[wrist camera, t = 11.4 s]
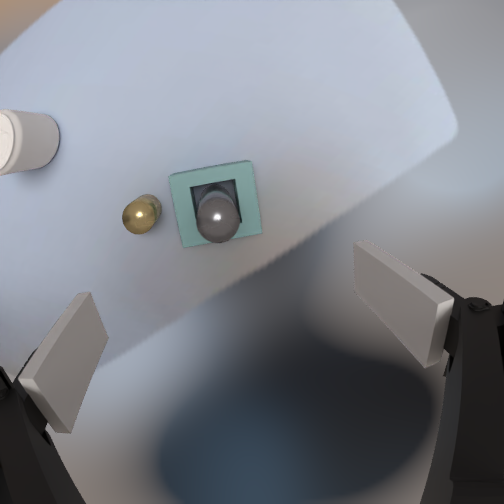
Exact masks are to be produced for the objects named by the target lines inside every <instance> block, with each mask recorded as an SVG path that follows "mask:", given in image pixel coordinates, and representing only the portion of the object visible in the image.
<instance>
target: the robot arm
mask: <svg viewBox="0 0 504 504" xmlns="http://www.w3.org/2000/svg"><path fill="white" fill-rule="evenodd" d="M353 244H354V292H355V293H356V294H357V295H358V296H359V297H360V298H361V299H362V301H363V302H364V303H365V304H366V305H367V306H368V307H369V308H370V309H371V310H372V311H373V312H374V313H375V314H376V315H377V316H378V317H379V318H380V319H381V321H382V322H383V323H384V324H385V325H386V326H387V327H388V328H389V329H390V330H391V331H392V332H393V334H394V335H395V336H396V337H397V338H398V339H399V340H400V341H401V342H402V343H403V344H404V345H405V347H407V349H408V350H409V351H410V352H411V353H412V354H413V355H414V357H415V358H416V359H417V360H418V361H419V362H420V363H421V364H422V365H423V367H424V368H427V367H429V366H432V365H434V364H436V363H438V362H440V361H441V357H442V353H443V350H444V349H445V350H446V351H447V352H448V353H449V358H448V361H447V365H446V368H445V372H444V375H443V376H445V377H446V383H445V392H444V400H443V407H442V413H441V420H440V426H439V431H438V436H437V441H436V446H435V450H434V455H433V459H432V463H431V468H430V471H429V475H428V479H427V482H426V486H425V489H424V492H423V495H422V499H421V502H420V504H504V302H503V304H502V305H496V306H492V305H491V304H490V303H489V302H488V301H487V300H484V299H482V298H477V297H470V298H467V299H464V298H462V297H461V296H459V295H458V294H457V293H455V292H454V291H452V290H451V289H449V288H448V287H446V286H445V285H443V284H442V283H440V282H439V281H437V280H436V279H434V278H433V277H431V276H428V275H425V274H419V273H417V272H416V271H414V270H413V269H411V268H410V267H408V266H407V265H405V264H404V263H402V262H401V261H399V260H398V259H396V258H395V257H393V256H391V255H390V254H389V253H387V252H385V251H384V250H382V249H381V248H379V247H377V246H376V245H374V244H373V243H371V242H370V241H368V240H363V241H359V242H354V243H353ZM107 341H108V335H107V333H106V331H105V328H104V326H103V323H102V321H101V318H100V316H99V313H98V311H97V308H96V306H95V303H94V300H93V298H92V295H91V292H85V293H79V294H77V295H76V297H75V298H74V299H73V301H72V302H71V303H70V305H69V306H68V307H67V308H66V310H65V311H64V312H63V314H62V315H61V316H60V318H59V319H58V320H57V322H56V323H55V325H54V326H53V327H52V329H51V330H50V331H49V333H48V334H47V336H46V337H45V339H44V340H43V341H42V343H41V344H40V346H39V347H38V348H37V349H36V350H35V351H33V353H32V354H31V355H30V357H29V358H28V361H26V363H25V364H24V367H22V369H21V371H20V372H19V374H18V375H17V377H16V378H15V380H14V382H13V383H12V382H11V380H10V379H9V377H8V376H7V374H6V372H5V371H4V369H3V367H1V366H0V504H86V503H85V501H84V500H83V498H82V496H81V494H80V493H79V491H78V489H77V488H76V486H75V484H74V483H73V481H72V479H71V477H70V475H69V473H68V472H67V470H66V468H65V466H64V464H63V462H62V460H61V458H60V456H59V454H58V452H57V450H56V448H55V446H54V443H53V441H52V439H51V437H50V435H49V434H48V432H47V431H46V430H45V427H46V425H47V423H49V424H50V426H51V427H52V428H53V429H54V431H55V432H57V433H71V432H72V429H73V426H74V423H75V420H76V418H77V415H78V412H79V409H80V407H81V404H82V401H83V399H84V396H85V393H86V391H87V388H88V386H89V383H90V380H91V378H92V376H93V373H94V371H95V369H96V366H97V364H98V361H99V359H100V357H101V354H102V352H103V350H104V347H105V345H106V343H107Z"/></svg>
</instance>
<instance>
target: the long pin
mask: <svg viewBox="0 0 504 504" xmlns="http://www.w3.org/2000/svg"><path fill="white" fill-rule="evenodd" d="M239 224H240V218H239V214H238V212H237V210H236V208H235V205H234V203H233V201H232V199H231V197H230V195H229V192H228V191H227V189H226V188H225V187H223V186H222V185H219V184H212V185H209V186H207V187H206V188H205V189H204V190H203V191H202V193H201V197H200V202H199V207H198V213H197V218H196V226H197V229H198V231H199V233H200V235H201V236H202V237H203V238H205V239H206V240H208V241H210V242H214V243H222V242H225V241H228V240H230V239H231V238H232V237H233V236H234V235H235V234H236V233H237V231H238V228H239Z"/></svg>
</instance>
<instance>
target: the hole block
mask: <svg viewBox="0 0 504 504" xmlns="http://www.w3.org/2000/svg"><path fill="white" fill-rule="evenodd" d="M168 177H169V183H170V188H171V193H172V198H173V203H174V208H175V213H176V218H177V222H178V227H179V232H180V236H181V241H182V245H183V248H186V247H191V246H196V245H202V244H207V243H212V242H210V241H208V240H206V239H205V238H203V237H202V236H201V235H200V233H199V231H198V229H197V226H196V218H197V208H196V203H195V197H194V192H193V186H198V185H203V184H208V183H214V182H219V181H225V180H231V179H233V184H234V190H235V196H236V202H237V208H238V214H239V218H240V224H239V228H238V231H237V233H236V234H235V235H234V236H233V237H232V238H231V239H234V238H239V237H245V236H250V235H256V234H261V233H262V227H261V221H260V214H259V207H258V200H257V193H256V187H255V180H254V173H253V167H252V161H248V160H245V161H238V162H232V163H226V164H220V165H215V166H209V167H204V168H199V169H193V170H188V171H183V172H178V173H174V174H172V175H170V176H168Z"/></svg>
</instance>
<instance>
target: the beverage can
mask: <svg viewBox="0 0 504 504" xmlns="http://www.w3.org/2000/svg"><path fill="white" fill-rule="evenodd" d="M58 144H59V130H58V127H57V124H56V123H55V121H54V120H53V119H52V118H51V117H50V116H48V115H44V114H38V113H31V112H24V111H16V110H8V109H3V110H0V176H1V175H6V174H11V173H16V172H21V171H26V170H31V169H37V168H41V167H43V166H45V165H46V164H48V163H49V162H50V161H51V159H52V158H53V157H54V155H55V153H56V151H57V148H58Z"/></svg>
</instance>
